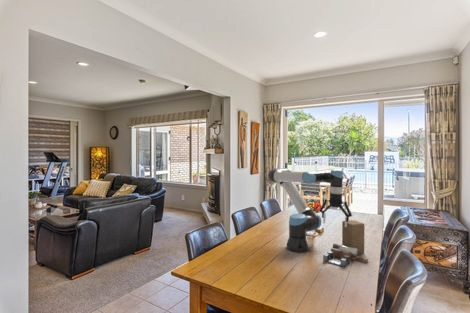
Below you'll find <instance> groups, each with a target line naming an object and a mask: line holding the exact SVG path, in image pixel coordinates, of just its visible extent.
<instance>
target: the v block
mask: <svg viewBox="0 0 470 313" xmlns="http://www.w3.org/2000/svg"><path fill="white" fill-rule="evenodd" d="M322 256H323V259H322V262H324V263H329V264H332V265H336V266H338V267H342V268H346V267H347V266H348V265H349V264H350V263H351V261H350V256H348V255H345V256H344V258H342V259H339V258H335V257H333V252H331V250H328V251H327V252H326V253H324V254H323V255H322Z"/></svg>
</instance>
